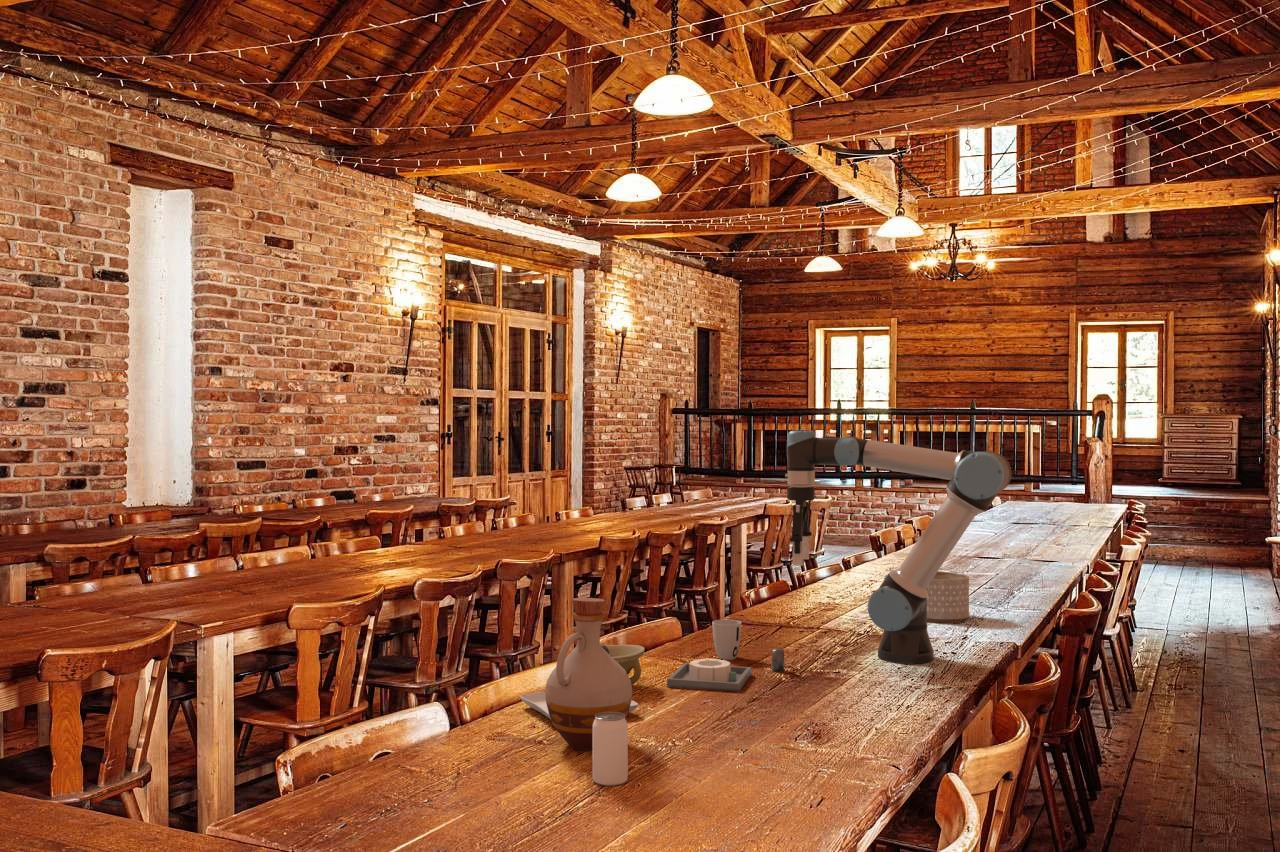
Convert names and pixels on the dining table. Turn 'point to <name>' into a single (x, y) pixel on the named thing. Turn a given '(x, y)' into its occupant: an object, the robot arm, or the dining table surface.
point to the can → (610, 749)
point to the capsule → (778, 660)
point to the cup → (726, 638)
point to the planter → (948, 598)
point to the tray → (682, 681)
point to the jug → (585, 679)
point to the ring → (711, 670)
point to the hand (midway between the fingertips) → (800, 562)
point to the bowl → (627, 658)
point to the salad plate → (540, 705)
